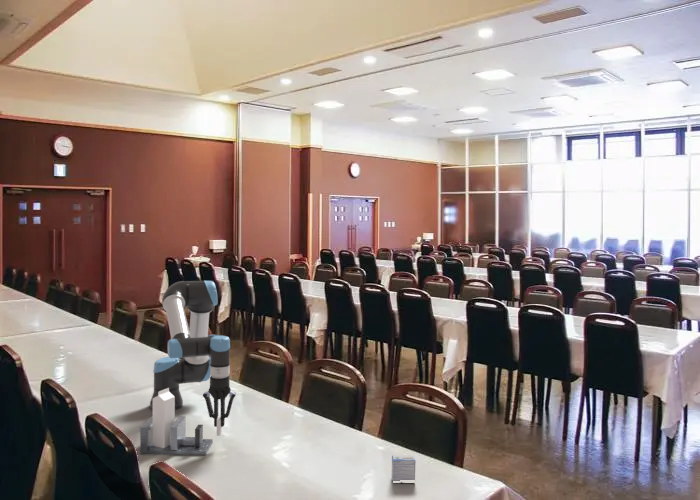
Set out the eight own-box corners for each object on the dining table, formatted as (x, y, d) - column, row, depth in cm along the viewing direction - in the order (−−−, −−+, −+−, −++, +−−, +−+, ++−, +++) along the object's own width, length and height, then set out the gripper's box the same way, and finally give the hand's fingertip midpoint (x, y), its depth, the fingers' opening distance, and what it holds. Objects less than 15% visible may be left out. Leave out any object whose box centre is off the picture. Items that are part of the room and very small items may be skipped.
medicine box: (413, 478, 203) (413, 454, 203) (415, 484, 199) (415, 459, 198) (391, 478, 203) (391, 454, 203) (392, 484, 199) (393, 459, 198)
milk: (152, 446, 224) (151, 390, 223) (163, 440, 229) (162, 386, 228) (164, 448, 221) (164, 392, 220) (175, 443, 227) (174, 388, 226)
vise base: (150, 442, 231) (150, 416, 231) (212, 442, 232) (212, 417, 231) (140, 454, 219) (140, 427, 219) (205, 455, 220) (205, 428, 219)
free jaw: (177, 438, 231) (177, 416, 231) (204, 438, 232) (204, 416, 231) (168, 450, 219) (168, 427, 219) (197, 450, 220) (197, 427, 219)
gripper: (200, 378, 220) (200, 437, 222) (234, 379, 221) (233, 438, 222) (205, 372, 228) (204, 430, 229) (238, 373, 228) (237, 431, 230)
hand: (219, 434), depth 226 cm, fingers closed
